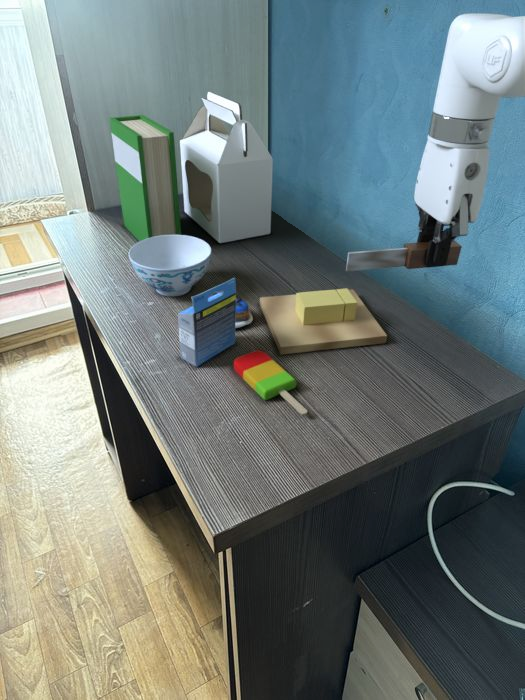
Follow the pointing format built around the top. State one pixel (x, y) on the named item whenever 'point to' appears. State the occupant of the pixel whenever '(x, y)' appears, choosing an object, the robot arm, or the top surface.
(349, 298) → the butter slice
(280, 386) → the popsicle
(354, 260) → the knife
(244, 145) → the gable box
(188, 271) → the chinaware
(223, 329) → the label tape box
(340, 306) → the butter block
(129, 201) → the hardback book
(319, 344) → the cutting board
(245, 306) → the dessert
